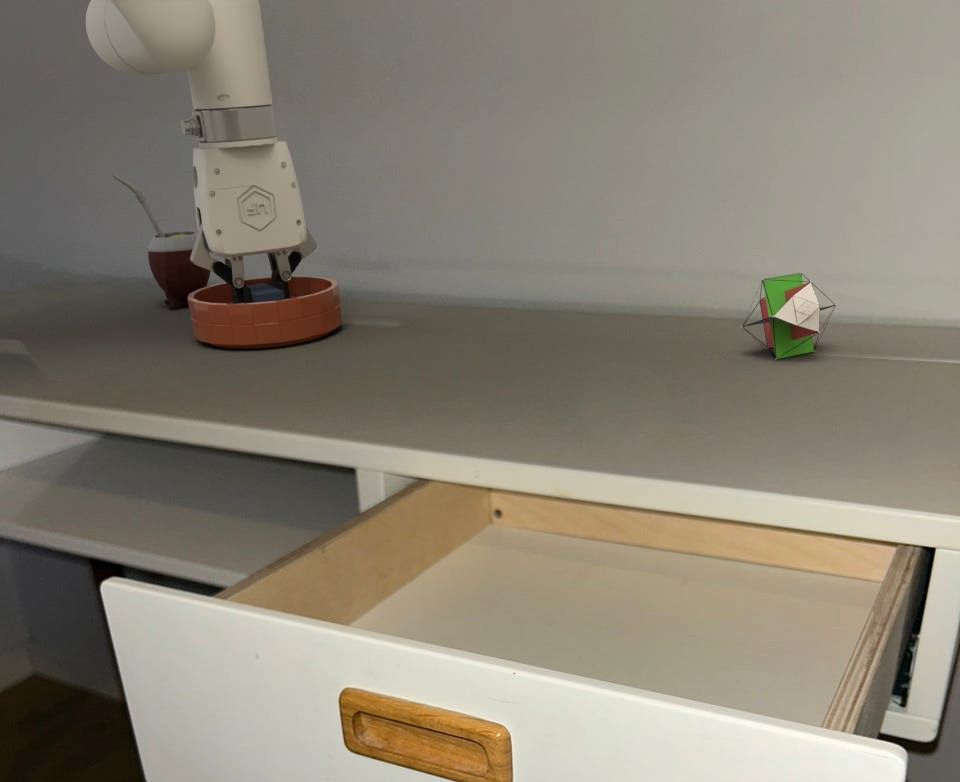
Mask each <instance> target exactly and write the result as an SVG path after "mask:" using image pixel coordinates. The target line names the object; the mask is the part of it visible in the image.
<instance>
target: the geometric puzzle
mask: <svg viewBox="0 0 960 782" xmlns="http://www.w3.org/2000/svg"><path fill="white" fill-rule="evenodd" d="M803 277H804V278H805V279H807V280H806V281H804V280H803ZM814 287H815V288H816V289H817V290H818V291H820V293H821V294H823V296H825V297H826V298H827V299H828V300H829V301H830V302H832V299H830V297H828V296H827V295H826V294H825V293H824V292H823V291H821V290H820V289H819V287H817V286H816V285H815V284H814V283H813V281H812V280H810V279H809V278H807V277H806V275H805V274H803V272H802V271H800V272H799V273H792V274H787V275H780V276H774V277H769V278H763V277H762V278H761V284H760V285H759V286H758V288H760V293H759V300H758V302H757V304H756V305H755V307H754V308H753V309H752V311H751V312H750V311H748V312H747V314H746V316H747V318H745V319H744V322H743V324H742V325H741V326H740V328H741V329H743V330H745V331H746V333H748V334H749V335H750V336H751V337H753V338H754V340H755V341H756V342H758V344H759V345H760V346H761V347H762V348H764V346H765V347H766V350H767V349H768V352H769V353H770V354H771V356H772V357H773V358H774V360H775V361H777V360H780V359H784V358H790V357H795V356H799V355H805V354H809V353H813V352H815V353H816V348H817V347H818V344H819V342H820V340H821V338H822V335H823V334H824V331H825V330H826V328H827V325H828V323H829V321H830V319H831V315H833V312H834V310H835V308H836V306H837V305H838V304H837V303H834V304H832V305H828V306H821V305H820V302H819V299H818V296H817V294H816V291H815V288H814ZM762 289H763V292H764V297H763V298H762ZM757 293H758V292H756V293H755V295H757ZM754 301H755V299H753V301H752V302H754ZM752 305H753V304H750V307H749V309H751V307H752ZM758 305H759V306H760V312H761V318H762V319H760V320H756V321H754V322H751V323H748V324H746V323H747V321H748V320H749V319H750V317H751V316H752V314H753V312H754V311H755V309H756V308H757V306H758ZM832 307H833V308H832ZM829 308H832V310H831V312H830V313H829V315H828V317H827V318H826V319H825V322H824V323H823V326H822V327H821V328H820V325H821V324H820V321H821V319H820V318H821V317H820V316H821V311H824V310H826V309H829ZM749 312H750V314H749ZM825 323H826V325H825ZM761 324H762V325H763V331H764V336H765V343H766V344H764V342H762V341H761V340H759V339H758V338H757V337H756V336H755V335H753V334H752V333H751V332H750V331H749V330H747V329H746V327H750V326H756V325H761ZM824 326H825V327H824ZM823 327H824V329H823ZM822 329H823V331H822ZM821 331H822V333H821ZM820 333H821V336H820ZM815 336H817V338H816V341H815V345H814V343H813V338H814V337H815ZM819 336H820V337H819ZM771 349H772V350H773V351H774V354H773V352H772V350H771Z"/></svg>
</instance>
